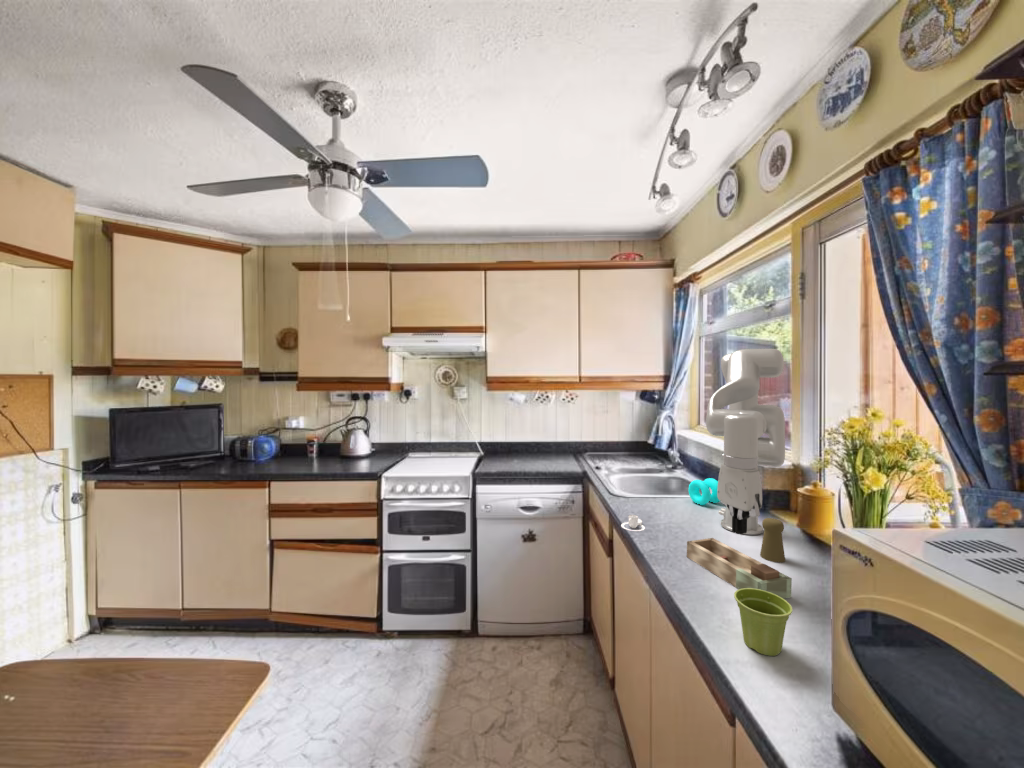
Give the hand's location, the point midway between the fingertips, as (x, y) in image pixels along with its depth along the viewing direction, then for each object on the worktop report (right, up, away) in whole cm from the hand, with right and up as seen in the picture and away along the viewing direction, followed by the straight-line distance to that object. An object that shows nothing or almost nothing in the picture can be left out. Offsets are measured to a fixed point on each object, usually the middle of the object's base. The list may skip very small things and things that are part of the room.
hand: (739, 532), depth 101 cm
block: (+1, -10, -8) cm, 13 cm away
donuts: (+21, -11, +59) cm, 64 cm away
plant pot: (-11, -12, -26) cm, 31 cm away
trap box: (-1, -12, +1) cm, 12 cm away
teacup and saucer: (-14, -12, +33) cm, 38 cm away
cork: (+16, -12, +11) cm, 23 cm away
